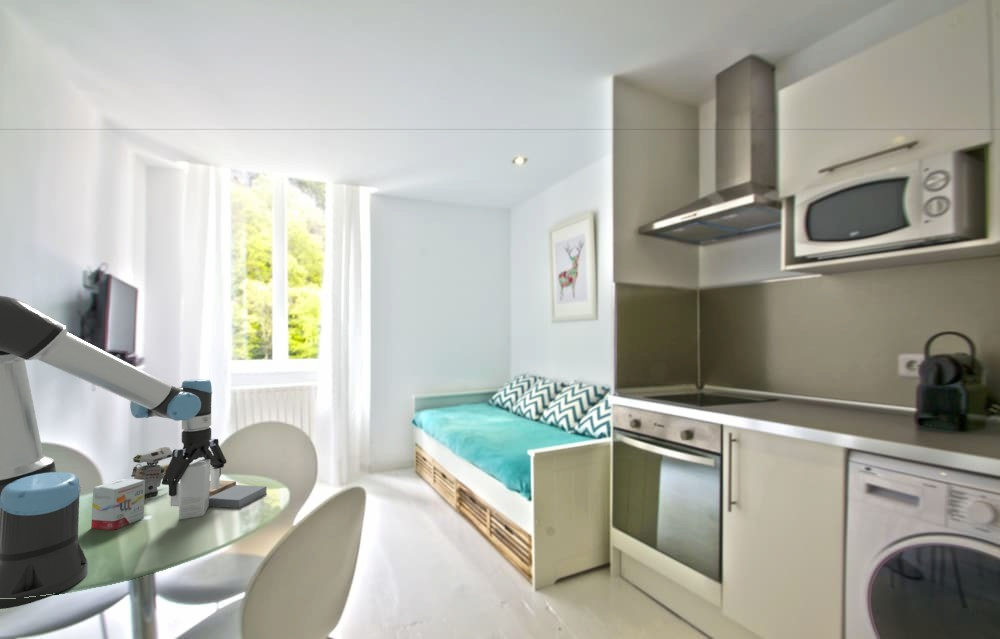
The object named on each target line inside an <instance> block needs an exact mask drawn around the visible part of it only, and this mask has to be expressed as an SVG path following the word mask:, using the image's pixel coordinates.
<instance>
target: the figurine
mask: <svg viewBox="0 0 1000 639" xmlns="http://www.w3.org/2000/svg"><path fill="white" fill-rule="evenodd" d="M172 454H173V450H171V448H170V447H167V446H164V447H160V448H157V449H154V450H150V451H146V452H143V453H140V454H136V455H135V456H133V458H132V460H133V463H137V464H136V465H135V466H133V468H132V472H131V473H132V474H131V475H130V476H131V477H132V478H133V479H140V480H145V498H144V499H146V498H149V497H154V496H157V495H158V494H159V491H158V487H161V485H162V480H163V478H164V475H165V473H166V471H167V469H166V470H165V467H164V466H161V465H159V462H160V461H163V460H165V459H171V458H172ZM142 463H146V465H143V466H142V465H141V464H142ZM164 471H165V472H164Z"/></svg>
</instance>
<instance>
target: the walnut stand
mask: <svg viewBox="0 0 1000 639" xmlns="http://www.w3.org/2000/svg"><path fill="white" fill-rule="evenodd" d="M235 485H237V481H235V480H221V479H220V480H219V489H209V497H211V496H213V495H215V494H217V493H220V492H222V491H224V490H226V489H228V488H231V487H233V486H235Z"/></svg>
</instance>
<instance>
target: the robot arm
mask: <svg viewBox="0 0 1000 639" xmlns="http://www.w3.org/2000/svg"><path fill="white" fill-rule="evenodd" d="M34 360H38V361H39V362H43V363H44V364H47V365H49V366H52V367H54V368H56V369H58V370H61V371H62V372H65V373H67V374H70V375H72V376H74V377H76V378H78V379H81V380H83V381H85V382H88V383H89V384H92V385H95V386H97V387H98V388H101V389H103V390H105V391H107V392H110V393H112V394H114V395H116V396H118V397H121V398H124V399H125V400H128V401H130V403H129V405H130V412H131V415H132V417H133V418H135V419H144V418H146V419H148V418H153V417H158V418H164V419H169V420H173V421H176V422H179V421H181V430H182V431H181V443H182V444H183V448H180V449H176V448H175V449H173V450H172V453H173V454H172V457H171V458H170V462H169V464H168V467H167V468H166V470H167V471H166V470H165V472H166V473H165V475H164V478H162V479H161V485H164V486H165V485H166V486H168V496H169V497H170V507H179V506H181V483H180V479H181V477H182V476H183V474H184V473H185V471H186V469H187V468H188V466H189V464H190V463H192V462H193V460H199V458H200V459H202V458H203V459H210V489H219V480H220V481H221V479H220V478H221V472H222V470H221V469H223V468H224V466H225V465H226V464H227V459H226V457H225V455H224V453H223V451H222V449H221V447H220V445H219V444H220V443H219V439H218V438H212V428H211V426H212V396H213V395H212V394H213V390H212V382H211V380H210V379H207V378H197V379H188V380H183V381H182V382H181V386H180V387H176V386H173V385H171V384H170V383H168V382H166V381H164V380H162V379H160V378H158V377H156V376H154V375H152V374H150V373H148V372H146V371H144V370H143V369H140V368H138V367H136V366H134V365H132V364H131V363H129V362H127V361H124V360H122V359H121V358H118V357H117V356H115V355H113V354H111V353H109V352H107V351H105V350H103V349H101V348H99V347H97V346H95V345H93V344H91V343H89V342H87V341H85V340H83V339H82V338H80V337H78V336H76V335H73V334H72V333H69V332H68V330H67V326H66V325H64V324H63V323H62V322H59V321H57V320H56V319H54V318H52V317H50V316H48V315H47V314H45V313H43V312H41V311H40V310H38V309H36V308H35V307H33V306H31V305H29V304H28V303H26V302H24V301H22V300H20V299H16V298H15V297H14V298H13V297H9V296H3V295H0V598H16V599H0V610H4V609H11V608H16V607H20V606H25V605H28V604H31V603H35V602H38V601H41V600H44V599H47V598H50V597H52V596H53V595H46V594H53V593H57V594H59V593H61V591H62V592H64V591H66V590H68V589H70V588H72V587H73V586H75V585H76V584H78V583H79V582H81V581H82V580H84V578H85V577H86V576H87V575H88V571H89V570H88V569H89V568H88V567H89V562H88V560H87V558H86V556H85V553H84V551H83V549H82V548H81V545H80V543H79V516H80V513H79V512H80V494H81V488H82V487H81V484H80V479H79V477H78V476H77V475H76V474H74V473H73V472H72V473H71V472H68V471H67V472H66V471H64V472H58V471H57V469H56V463H55V459H54V458H51V457H49V456H46V455H45V454H44V452H43V447H42V446H43V445H42V442H41V435H40V431H39V427H38V426H39V425H38V421H37V415H36V411H35V406H34V401H33V400H34V399H33V395H32V390H31V386H30V380H29V374H28V370H27V365H26V364H27V363H26V361H34ZM211 467H212V468H211ZM40 595H46V596H40ZM29 596H36V597H29ZM24 597H29V598H24Z"/></svg>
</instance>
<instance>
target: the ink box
mask: <svg viewBox="0 0 1000 639" xmlns="http://www.w3.org/2000/svg"><path fill="white" fill-rule="evenodd" d="M145 499H146V498H145V480H140V479H134V478H126V477H125V478H121V479H117V480H114V481H111V482H107V483H104V484H100V485H96V486H93V488H92V505H91V506H92V507H91V529H94V530H106V531H117V529H118V530H119V529H121V528H123V527H125V526H127V525H130V524H132V522H133V523H135V522H138V521H140V520H141V519H144V518H145Z"/></svg>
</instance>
